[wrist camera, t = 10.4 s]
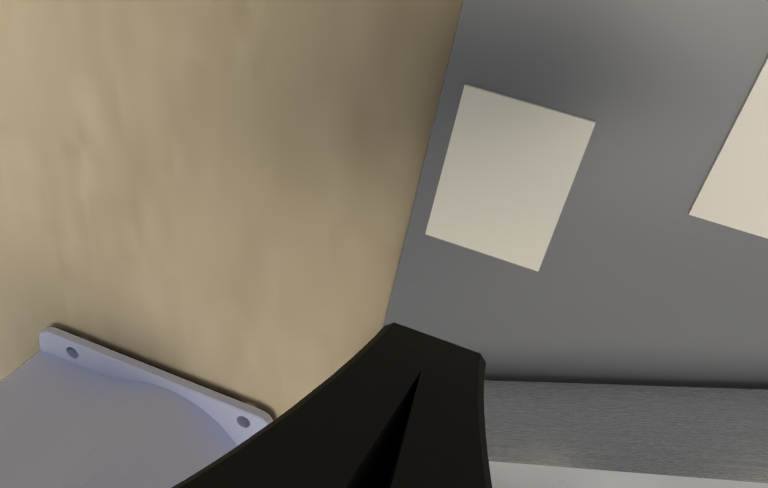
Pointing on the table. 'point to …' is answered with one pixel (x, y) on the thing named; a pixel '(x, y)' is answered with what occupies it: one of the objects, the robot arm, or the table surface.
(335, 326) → the table surface
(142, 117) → the table surface
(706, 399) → the swing arm
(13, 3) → the table surface
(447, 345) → the robot arm
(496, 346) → the label plate
